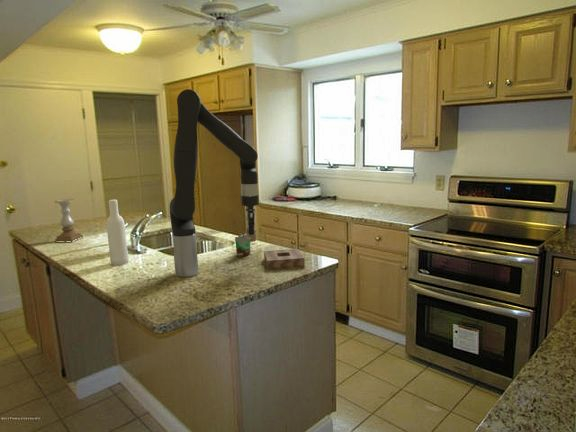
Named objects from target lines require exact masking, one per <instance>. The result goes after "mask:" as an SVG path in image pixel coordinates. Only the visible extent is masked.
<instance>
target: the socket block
mask: <svg viewBox="0 0 576 432" xmlns="http://www.w3.org/2000/svg"><path fill="white" fill-rule="evenodd" d="M263 257H264V263H265V265H266V267H267V268H266V269H267V270H270V271H271V270H281V269H282V270H283V269H295V268H305V257H304V255H303V254H302V252H301V251H300V249H299V248H289V249H274V250H264V251H263Z"/></svg>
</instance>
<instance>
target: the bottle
mask: <svg viewBox="0 0 576 432" xmlns="http://www.w3.org/2000/svg"><path fill="white" fill-rule="evenodd" d="M118 203H119V202H118V200H117V199H110V200H108V205H109V206H108V207H109V213H110V214H109V216H108V217H107V219H106V222H105V223H106V224H105V225H106V234H107V241H108V242H107V243H108V248H109V250H108V251H109V261H110V265H111V264H112V265H111V266H114V265H118V266H123V265H122V264H124V265H127V264H129V253H128V242H127V234H126V226H125V225H126V224H125V220H124V218H123V217H122V216H121V214H119V205H118ZM126 263H127V264H126Z"/></svg>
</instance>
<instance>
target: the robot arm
mask: <svg viewBox="0 0 576 432" xmlns="http://www.w3.org/2000/svg"><path fill="white" fill-rule="evenodd" d="M176 106H177V130H176V136H175V140H174V141H175V142H174V148H173V170H174V176H175V193H174V196H173V198H172V199H170V203H169V216H170V227H171V230H172V231H171V232H172V238H173V239H172V240H173V242H172V243H173V251H174V252H173V262H174V275H175V277H180V278H188V277H189V278H190V277H194V276H195V275H198V274H199V262H198V261H199V260H198V248H197V247H198V246H197V245H198V244H197V234H196V226H195V223H194V214H195V212H196V200H195V199H196V198H195V197H196V196H195V195H196V194H195V192H196V191H195V185H196V176H197V168H198V153H199V151H198V150H199V143H198V142H199V140H198V123H199V124H200V125H202V127H203V128H205V129H206V130H207V131H209V133H211V135H212V136H214V137H215V139H216V140H218V141H219V142H220V143H221V144H223V146H225V147H226V148H227V149H228V150H229V151H231V152H233V153H234V154H235V155H236V156H237V157H238V158H239V166H240V183H241V184H240V204H241V206H243V207H246V208H245V215H246V214H247V221H248V226H249V235H254V225H255V224H256V222H255V223H254V220H255V221H256V209H255V208H254V207H256V206H259V205H260V198H259V197H260V195H259V194H260V193H259V184H258V172H257V165H256V163H257V160H258V151H257V150H256V148H254V147H253V146H252V145H251V144H249V143H248V142H247V141H246V140H244V139H243V138H242V137H241V136H240V135H239V134H238V133H237V132H235V131H234V129H233V128H231V127H230V126H228V124H226V123H225V122H224V121H222V120H220V119H219V118H218V117H217V116H215V115H214V114H213V113H212V112H211V111H210V110H209V109H208V108H206V106H205V105H204V103H202V100H201V97H200V95H199V93H198V92H196V91H195V90H193V89H190V88H186V89H184V90H182V91H181V92H180V93H178V94H177V98H176ZM250 221H253V223H250Z"/></svg>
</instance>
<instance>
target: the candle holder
mask: <svg viewBox="0 0 576 432" xmlns="http://www.w3.org/2000/svg"><path fill="white" fill-rule="evenodd" d="M73 202H75V199H74V198H67V199H63V198H62V199H58V200H57V199H56V200H54V202H53V203H54V204H59V206H60V208H61V210H60V213H61V214H62V218H61V220H60V222H59V224H60V226H61V227H62V228H61V231H63V232H61V234H59V235H57V236H56V238H55V239H54V242H55V241H73V240H75V239H78V238H80V237H83V238H84V235H83V234H81V233H82V232H76V231H74V229H75V227H74V226H73V225H74V224H75V221H74V218H72V216H71V215H70V213H71V209H70V208H69V206H70V204H71V203H73Z"/></svg>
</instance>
